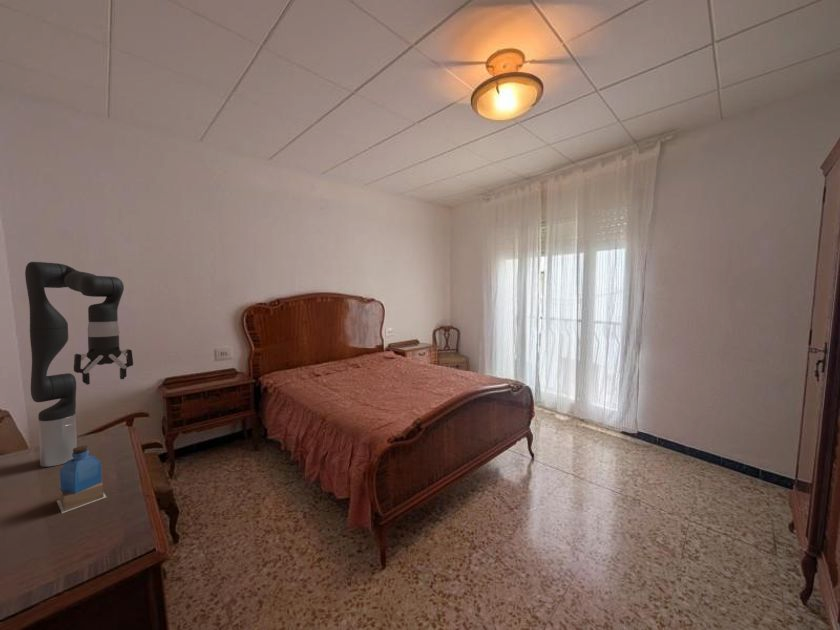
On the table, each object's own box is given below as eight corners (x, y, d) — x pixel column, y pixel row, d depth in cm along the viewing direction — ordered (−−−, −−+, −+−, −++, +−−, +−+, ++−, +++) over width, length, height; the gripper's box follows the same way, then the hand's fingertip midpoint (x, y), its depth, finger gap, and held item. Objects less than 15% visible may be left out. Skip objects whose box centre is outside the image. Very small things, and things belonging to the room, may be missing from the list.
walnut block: (60, 500, 95) (59, 487, 95) (97, 488, 102) (97, 475, 102) (64, 511, 91) (64, 497, 91) (103, 497, 97) (103, 484, 97)
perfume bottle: (75, 493, 92) (74, 454, 92) (60, 490, 94) (59, 451, 93) (101, 482, 98) (100, 444, 98) (87, 479, 100) (85, 442, 99)
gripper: (128, 332, 115) (129, 375, 116) (70, 335, 104) (72, 384, 104) (134, 333, 111) (135, 379, 112) (75, 337, 99) (77, 388, 100)
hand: (105, 381), depth 108 cm, fingers open, 8 cm apart
